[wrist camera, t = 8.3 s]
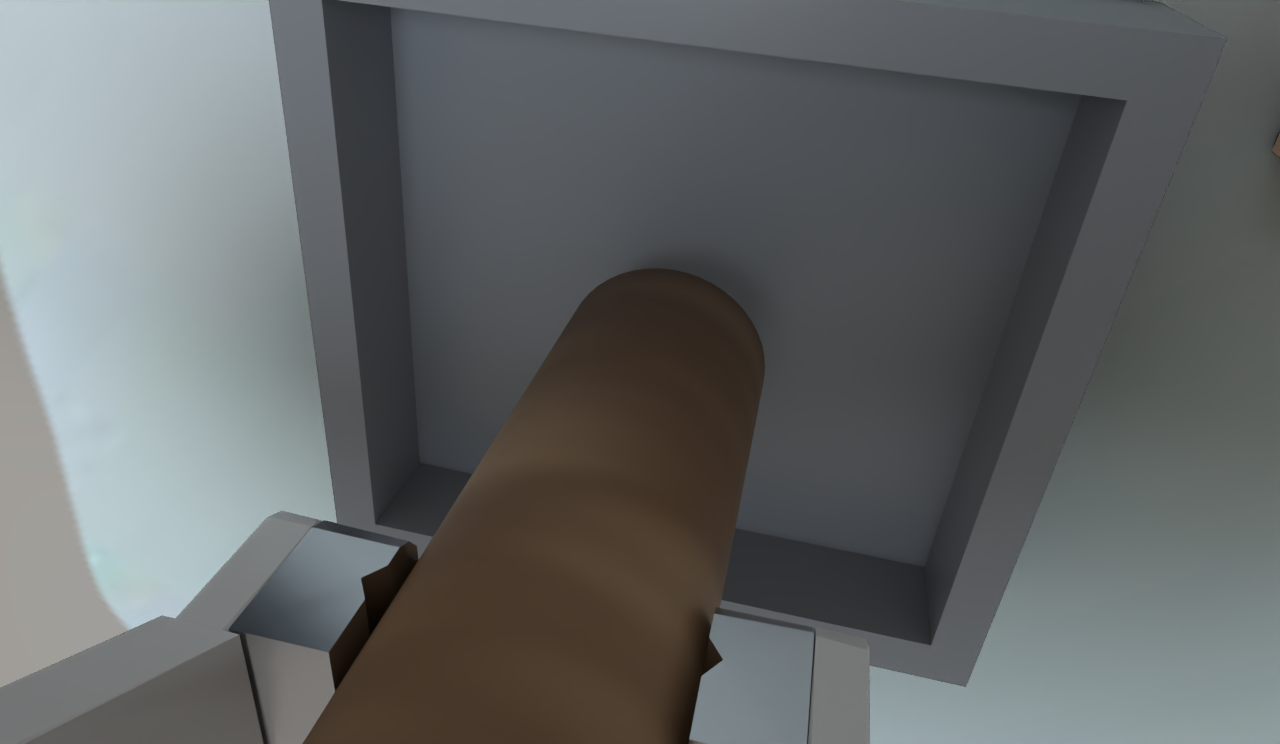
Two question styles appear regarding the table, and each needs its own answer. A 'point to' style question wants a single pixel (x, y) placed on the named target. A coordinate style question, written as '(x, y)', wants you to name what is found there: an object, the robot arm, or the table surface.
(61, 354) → the table surface
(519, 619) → the dowel
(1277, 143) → the peach square frame
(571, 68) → the tray
